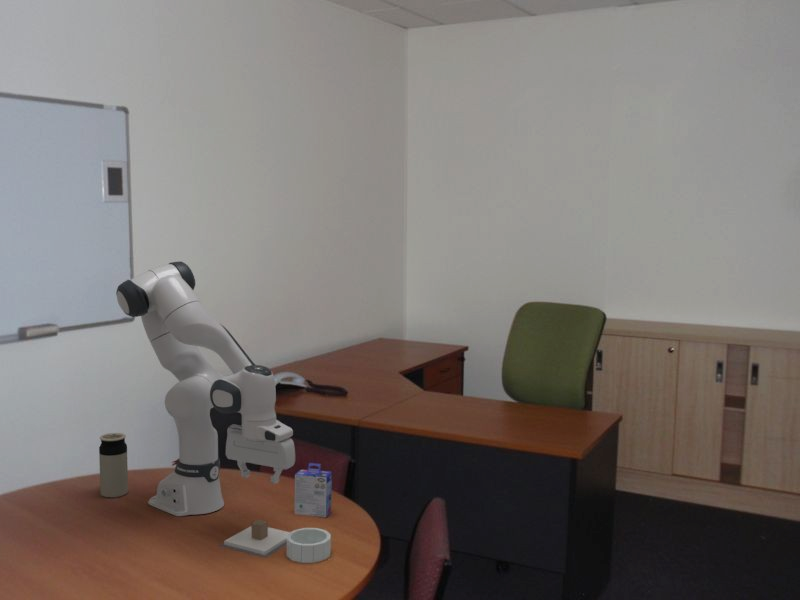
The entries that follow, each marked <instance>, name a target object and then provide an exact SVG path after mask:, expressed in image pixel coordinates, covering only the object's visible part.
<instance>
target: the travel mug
mask: <svg viewBox="0 0 800 600" xmlns="http://www.w3.org/2000/svg"><path fill="white" fill-rule="evenodd" d="M126 437H127V435H126V433H123V432H110V433H104V434H103V435H100V436H99V440H100V443H101V444H100V445H99V447H98V453H99V460H98V461H99V485H100V486H99V487H100V488H99V489H100V493H99V495H101V496H102V497H105V498H109V497H110V498H112V499H113V498H120V497H122V496H125V495H126V494H128V493H129V478H128V477H129V476H128V475H129V474H128V472H129V471H128V445H127V443H126V441H125V440H126Z"/></svg>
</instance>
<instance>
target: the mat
mask: <svg viewBox="0 0 800 600" xmlns="http://www.w3.org/2000/svg"><path fill="white" fill-rule="evenodd" d="M218 546H220V547H224V548H228V549H231V550H235V551H239V552H242V553H246V554H250V555H254V556H258V557H261V558H267V557H269V556H271V555H272V554H274V553H277V551H279V550H281V549H282V548H284V547H286V546H287V542H285V543H284V544H282V545H281V546H279V547H277V548H276V549H274V550H272V551H271V552H269V553H268V554H266V555H262V554H258V553H254V552H251V551H247V550H243V549H239V548H235V547H232V546H228V545H224V541H223V542H222V543H220V544H218Z"/></svg>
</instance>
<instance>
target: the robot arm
mask: <svg viewBox="0 0 800 600" xmlns="http://www.w3.org/2000/svg"><path fill="white" fill-rule="evenodd" d="M193 273H194V272H193V270H192V269H191V267H190V266H189V265H188V264H186V262H183V261H173V262H169V263H168V264H164V265H161V266H157V267H154V268H151V269H149V270H147V271H145V272H143V273H141V274H139V275H137V276H134V277H133V278H131V279H126V280H124V281H123V282H122V283H120V284H119V285H118V286H117V289H116V293H115V294H116V299H117V304H118V305H119V308H120V309H121V310H122V311H123V312H124V314H125V315H127V316H129V317H132V318H136V317H137V318H138V317H140V318H141V322H142V325H143V329H144V331H145V334H146V336H147V338H148V340H149V343H150V345H151V347H152V348H153V350H154V351H153V352H154V353H155V355H156V357H157V359H158V361H159V363H160V365H161V367H162V368H164V369H165V370H167V371H169V372H170V373H171V374H172V375H173V376H174V377H175V378H176V379H177V380H178V382H176V383H175V384H174V385H173V386H172V387H171V388H170V389H169V390H168V391H167V393H165V397H164V407H165V410H166V411H167V413H168V414H169V416H171V417H172V418H173V419H174V420H173V421H174V423H175V427H176V431H177V435H178V436H177V437H178V458H177V460H173V461H172V462H171V463H172V464H171V466H175V468H174V470H173V471H172V472H171V473H169V474H168V475H167V476H166V477H164V478H163V479H162V480H160V481H159V483H158V485H157V488H156V494H155V495H154V496H152V497H151V498H149V500H148V505H149V506H151V507H153V508H156V509H159V510H161V511H163V512H166V513H168V514H171V515H173V516H176V517H184V516H189V515H191V516H192V515H204V514H209V513H214V512H215V511H218V510H220V509H222V508H223V507H224V505H225V501H224V497H223V493H222V489H221V482H220V481H221V480H220V470H221V461H220V460H221V459H220V457H219V436H218V431H217V429H216V428H215V427H214V426H213V424H212V423H213V422H212V420H211V415H210V414H211V409H213V408H214V409H215V410H216V411H217V412H219V413H221V414H234V413H239V414H241V425H240V424H236V423H234V424H231V425H229V426H228V427H227V430H226V434H227V435H226V437H227V438H226V441H225V456H226V458H227V459H228V460H233V461H236V462H237V463H236V464H237V466H238V468H239V469H240V471H241V477H242V478H245V479H248V478H249V477H250V476H251V470H250V469H248V468H247V463H249V464H254V465H260V466H265V467H271V468H273V472H274V474H273V475H272V476H270V484H275V485H276V484H278V483H280V476H281V474H282V472H283V470H288V469H290V468H292V467H293V466H294V465H295V462H296V449H295V442H294V440H293V439H292V438H291V437H292V436H293V435H294V430H293V429H292V427H290V426H288V425H286V424H285V423H282V422H281V421H280V420H279V419H277V413H276V409H275V407H276V403H277V402H276V401H277V392H276V391H277V390H276V381H275V376H274V374H273V371H272V370H271V369H270V368H269V367H267V366H264V365H258V364H256V363H254V361H253V360H252V359H251V358H250V356H249V355H248V354H247V353H246V351H245V350H244V349H243V347H242V346H241V345H240V343H238V341H237V339H236V338H235V337H234V336H233V334H231V332H230V331H229V330H228V329H227V328H226V327H225V326H224V325H223V324H221V323H220V322H218V321H217V320H216V319H215V317H213V316H212V315H211V314H210V313H209V311H208V310H207V308H206V307H205V306H204V305H203V303H202V301H201V300H200V298H199V297H198V295H197V293H195V291H194V289H195V287H196V278H195V275H194V274H193ZM198 347H200V348H204V349H208V350H210V351H213V353H216V354H217V355H218V356H219V357H220V359H221V360H222V361H223V362H224V363H225V365H226V366H227V368H228V369H229V370H230V371H231V373H232V374H231V375H227V376H225V375H224V374H223V373H221V372H219V371H217V370H216V369H215V368H214V367H213V366H212V365H211V364H210V362H208V360H207V359H206V358H205V357H204V356H203V354H202V353H201V351H200V349H199V348H198Z"/></svg>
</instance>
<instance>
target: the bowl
mask: <svg viewBox="0 0 800 600" xmlns="http://www.w3.org/2000/svg"><path fill="white" fill-rule="evenodd" d="M289 532H290V533H289V534H288V535H287V545H286V557H287V558H288V559H289V560H291V561H292V562H296V563H299V564H300V563H301V564H314V563H318V562H323V561H324V562H325V560H327V559H329V558H330V557H331V551H332V550H331V548H332V547H331V545H332V543H331V542H332V535H331V533H330V532H329V531H327V530H326V529H322V528H318V527H302V528H298V529H297V528H296V529H293V530H292V531H289Z"/></svg>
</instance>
